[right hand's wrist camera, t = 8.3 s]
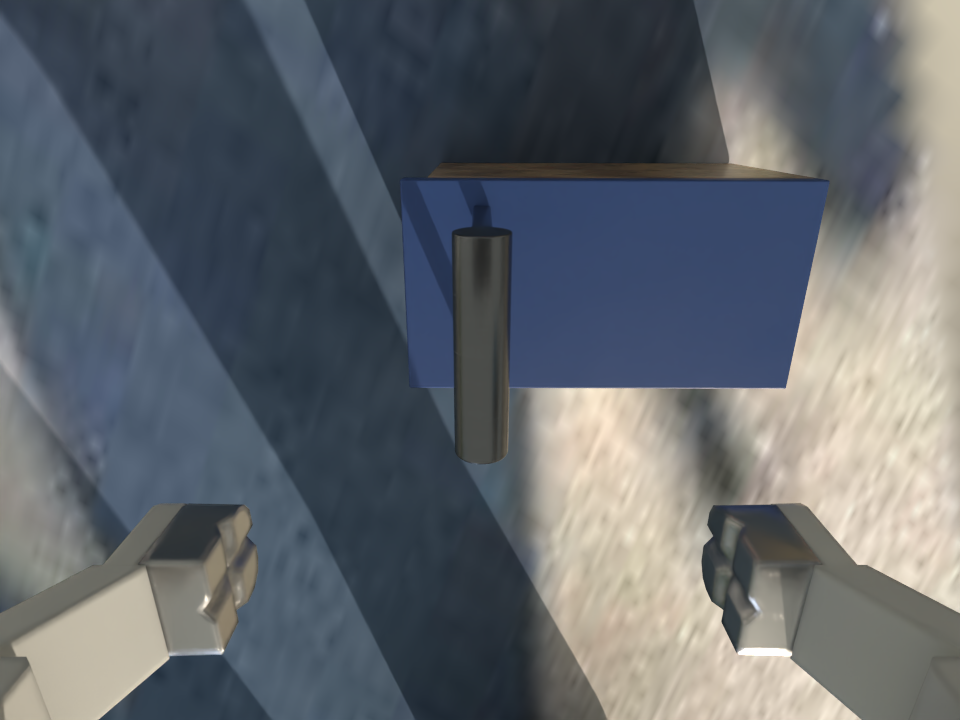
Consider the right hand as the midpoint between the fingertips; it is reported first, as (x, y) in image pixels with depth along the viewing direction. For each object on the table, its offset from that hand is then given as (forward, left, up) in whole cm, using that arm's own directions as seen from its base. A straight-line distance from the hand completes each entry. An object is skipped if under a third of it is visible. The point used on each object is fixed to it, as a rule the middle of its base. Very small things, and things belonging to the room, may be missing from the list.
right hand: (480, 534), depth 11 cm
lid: (+2, +5, -17) cm, 18 cm away
